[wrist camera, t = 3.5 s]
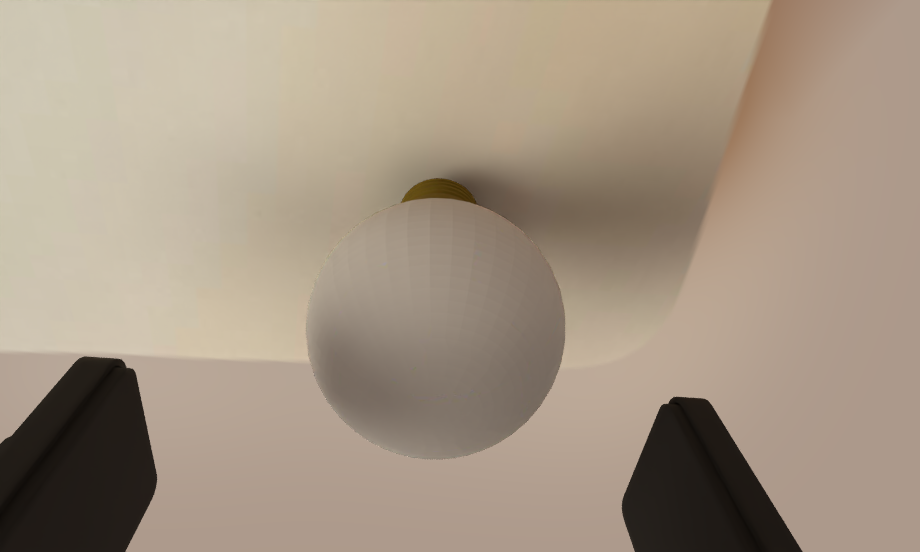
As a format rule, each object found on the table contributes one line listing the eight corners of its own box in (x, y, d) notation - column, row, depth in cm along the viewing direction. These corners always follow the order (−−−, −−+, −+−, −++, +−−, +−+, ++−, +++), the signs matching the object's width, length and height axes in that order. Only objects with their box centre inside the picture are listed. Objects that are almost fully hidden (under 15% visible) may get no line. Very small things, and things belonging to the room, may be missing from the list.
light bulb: (322, 155, 18) (210, 345, 9) (495, 92, 17) (547, 237, 9) (393, 299, 21) (357, 545, 12) (544, 251, 20) (620, 479, 11)
